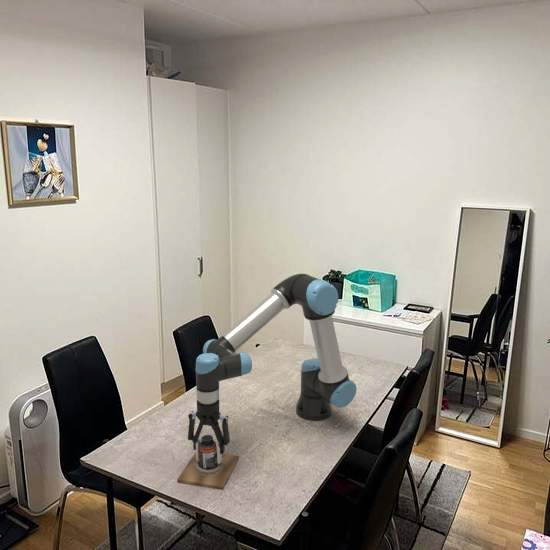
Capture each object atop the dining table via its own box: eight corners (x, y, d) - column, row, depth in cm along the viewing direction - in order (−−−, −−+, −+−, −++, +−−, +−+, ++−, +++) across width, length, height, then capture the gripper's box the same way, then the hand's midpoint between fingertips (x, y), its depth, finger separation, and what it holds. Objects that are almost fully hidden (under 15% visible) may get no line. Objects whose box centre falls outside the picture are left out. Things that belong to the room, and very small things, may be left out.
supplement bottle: (201, 462, 181) (198, 433, 178) (218, 461, 181) (216, 432, 179) (200, 472, 175) (197, 442, 172) (217, 471, 175) (215, 441, 173)
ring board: (238, 458, 185) (238, 451, 184) (222, 489, 168) (222, 482, 167) (197, 451, 188) (197, 445, 188) (177, 482, 171) (177, 475, 171)
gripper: (239, 397, 173) (240, 457, 179) (184, 390, 177) (186, 449, 183) (233, 408, 166) (233, 470, 172) (175, 400, 170) (177, 461, 176)
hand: (209, 459), depth 177 cm, fingers open, 7 cm apart
